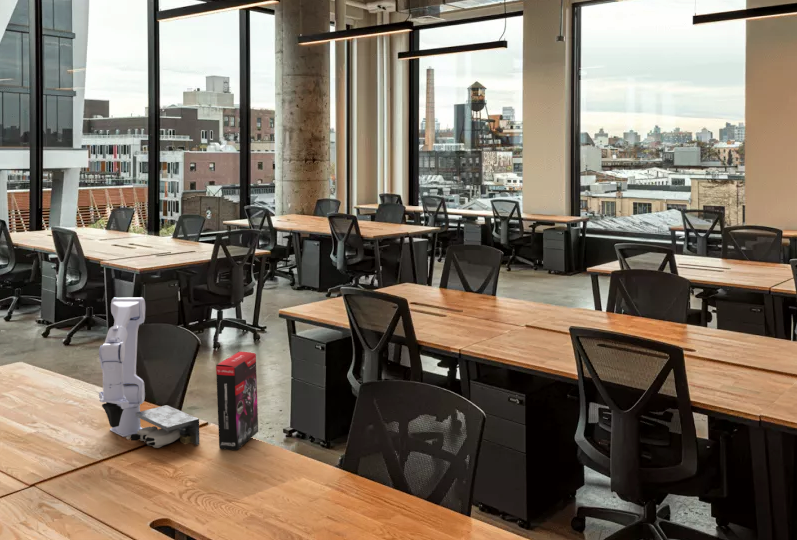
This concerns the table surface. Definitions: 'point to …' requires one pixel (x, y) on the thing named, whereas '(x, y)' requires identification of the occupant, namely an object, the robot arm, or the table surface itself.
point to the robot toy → (155, 436)
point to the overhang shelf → (173, 422)
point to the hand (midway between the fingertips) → (114, 426)
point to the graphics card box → (237, 400)
